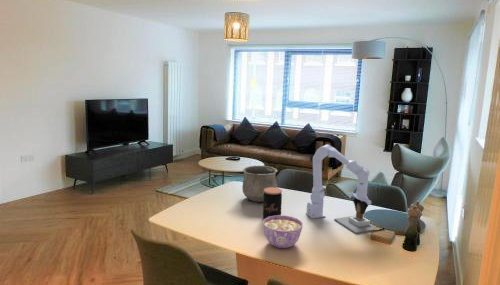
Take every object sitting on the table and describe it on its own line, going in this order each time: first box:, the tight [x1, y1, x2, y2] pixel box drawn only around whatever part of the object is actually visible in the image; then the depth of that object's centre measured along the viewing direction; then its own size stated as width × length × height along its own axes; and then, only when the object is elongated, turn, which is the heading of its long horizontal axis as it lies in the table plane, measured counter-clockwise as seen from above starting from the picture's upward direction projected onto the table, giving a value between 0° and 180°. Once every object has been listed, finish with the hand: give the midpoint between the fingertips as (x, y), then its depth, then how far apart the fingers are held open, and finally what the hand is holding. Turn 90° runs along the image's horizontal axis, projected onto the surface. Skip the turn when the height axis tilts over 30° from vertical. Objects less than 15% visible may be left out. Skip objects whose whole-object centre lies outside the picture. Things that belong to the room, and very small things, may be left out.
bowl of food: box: [262, 214, 304, 249], centre depth 181 cm, size 20×20×12 cm
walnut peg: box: [355, 203, 364, 219], centre depth 207 cm, size 4×4×8 cm
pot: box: [241, 165, 279, 203], centre depth 244 cm, size 25×24×21 cm
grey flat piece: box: [334, 215, 376, 235], centre depth 209 cm, size 20×20×4 cm
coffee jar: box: [262, 187, 283, 220], centre depth 212 cm, size 11×11×18 cm
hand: (360, 212), depth 208 cm, fingers closed on walnut peg, 4 cm apart
